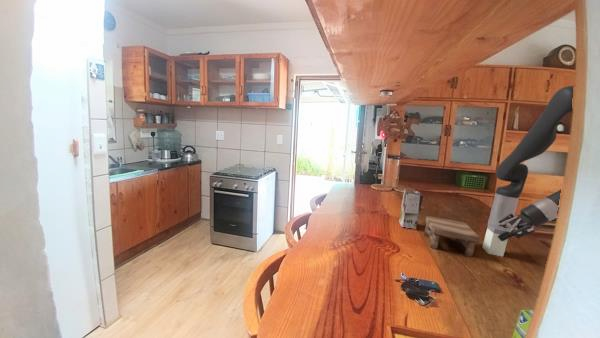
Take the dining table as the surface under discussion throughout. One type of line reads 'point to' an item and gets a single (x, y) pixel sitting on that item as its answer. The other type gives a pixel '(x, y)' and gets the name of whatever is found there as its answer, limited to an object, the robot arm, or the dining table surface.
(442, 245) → the dining table surface
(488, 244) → the cream faceted block
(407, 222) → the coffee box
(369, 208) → the dining table surface
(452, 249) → the dining table surface
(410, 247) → the dining table surface
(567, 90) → the robot arm
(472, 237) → the footstool
